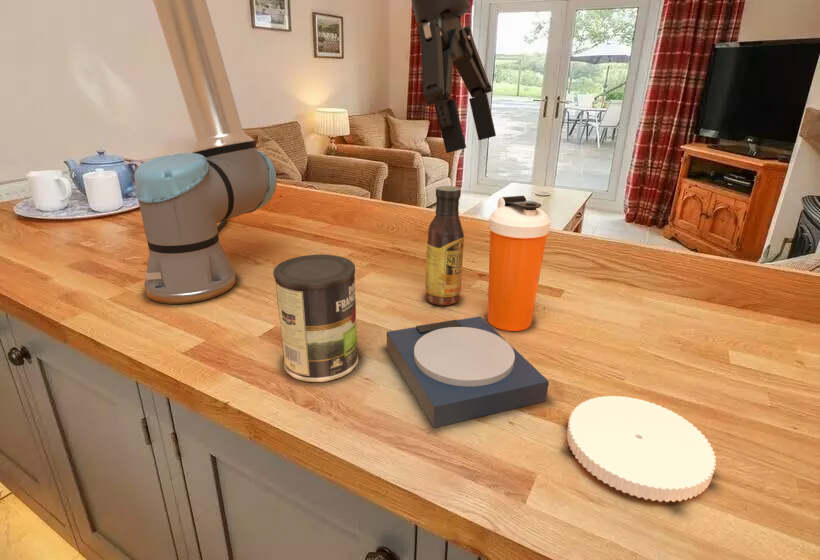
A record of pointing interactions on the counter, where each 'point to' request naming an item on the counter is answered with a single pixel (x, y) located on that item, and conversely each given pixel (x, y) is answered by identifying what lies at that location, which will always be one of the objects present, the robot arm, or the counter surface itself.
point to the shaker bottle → (515, 261)
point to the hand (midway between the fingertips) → (473, 144)
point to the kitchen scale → (464, 370)
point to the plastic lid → (641, 448)
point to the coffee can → (317, 316)
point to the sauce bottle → (445, 249)
